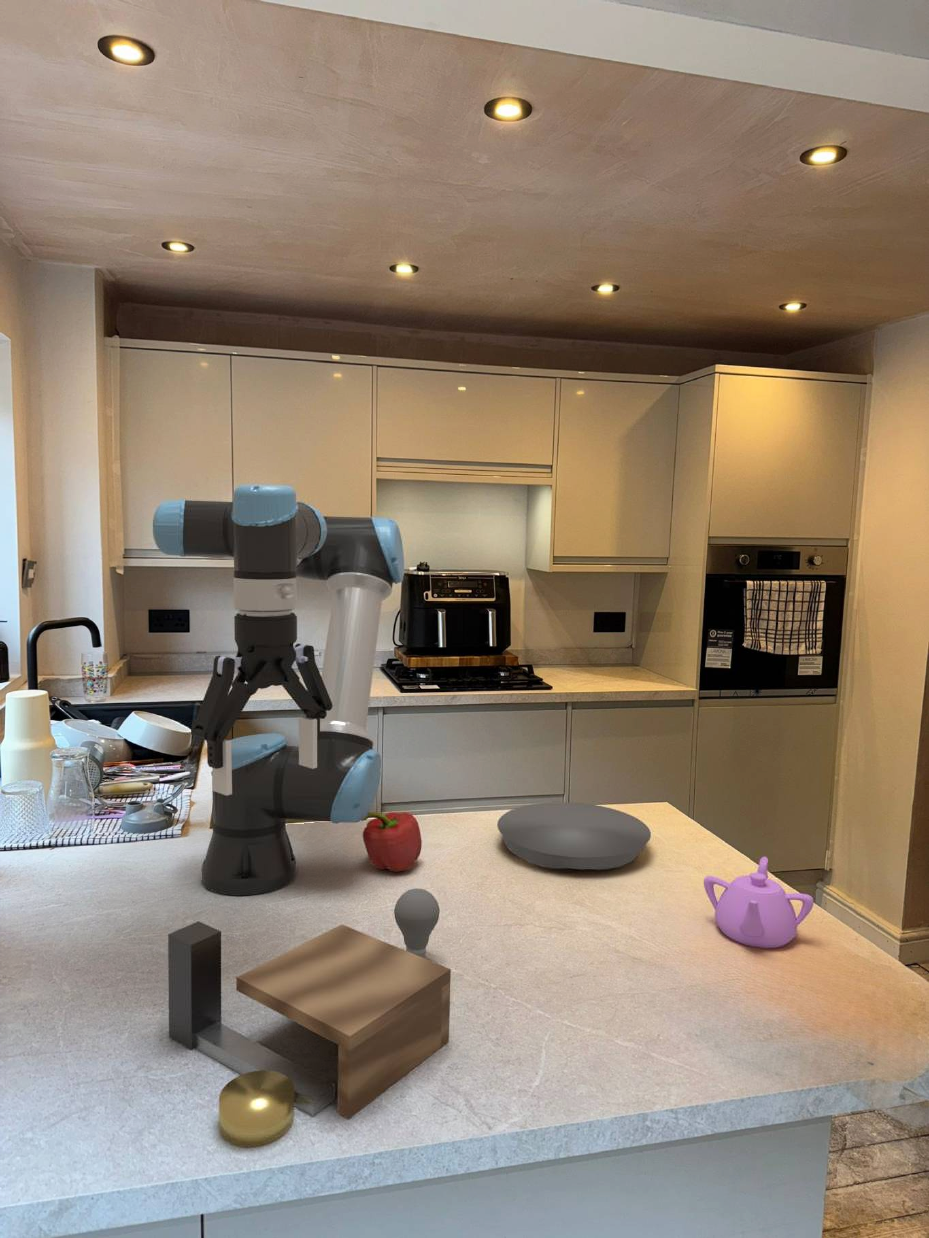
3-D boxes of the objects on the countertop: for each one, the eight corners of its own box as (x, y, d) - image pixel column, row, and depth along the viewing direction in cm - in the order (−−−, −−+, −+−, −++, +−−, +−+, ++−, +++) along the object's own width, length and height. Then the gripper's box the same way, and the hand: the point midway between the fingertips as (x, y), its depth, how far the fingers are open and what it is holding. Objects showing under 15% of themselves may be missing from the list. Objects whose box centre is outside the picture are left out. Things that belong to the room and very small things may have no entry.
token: (203, 1128, 79) (203, 1098, 78) (259, 1089, 84) (259, 1061, 84) (253, 1160, 75) (253, 1129, 74) (309, 1117, 80) (309, 1088, 80)
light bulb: (444, 956, 112) (446, 885, 111) (428, 977, 106) (430, 903, 105) (403, 948, 114) (405, 878, 113) (385, 968, 108) (387, 895, 107)
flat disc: (503, 819, 168) (504, 798, 168) (643, 828, 164) (644, 807, 164) (488, 875, 141) (489, 850, 140) (656, 888, 137) (657, 863, 136)
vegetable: (368, 883, 135) (369, 824, 134) (351, 860, 144) (352, 804, 143) (430, 874, 139) (432, 816, 138) (410, 852, 149) (411, 798, 148)
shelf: (236, 1051, 90) (236, 977, 89) (340, 989, 103) (341, 924, 102) (348, 1118, 80) (349, 1036, 79) (448, 1041, 93) (450, 969, 92)
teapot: (761, 909, 129) (765, 854, 128) (822, 952, 116) (826, 891, 115) (694, 916, 126) (697, 860, 125) (748, 961, 113) (753, 899, 112)
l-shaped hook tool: (168, 1036, 92) (168, 934, 91) (198, 1020, 96) (198, 921, 94) (309, 1119, 80) (310, 1001, 79) (338, 1097, 83) (339, 983, 82)
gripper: (196, 624, 89) (200, 812, 92) (359, 606, 109) (358, 761, 112) (157, 618, 94) (161, 797, 97) (320, 601, 114) (320, 751, 116)
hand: (267, 778), depth 104 cm, fingers open, 13 cm apart
